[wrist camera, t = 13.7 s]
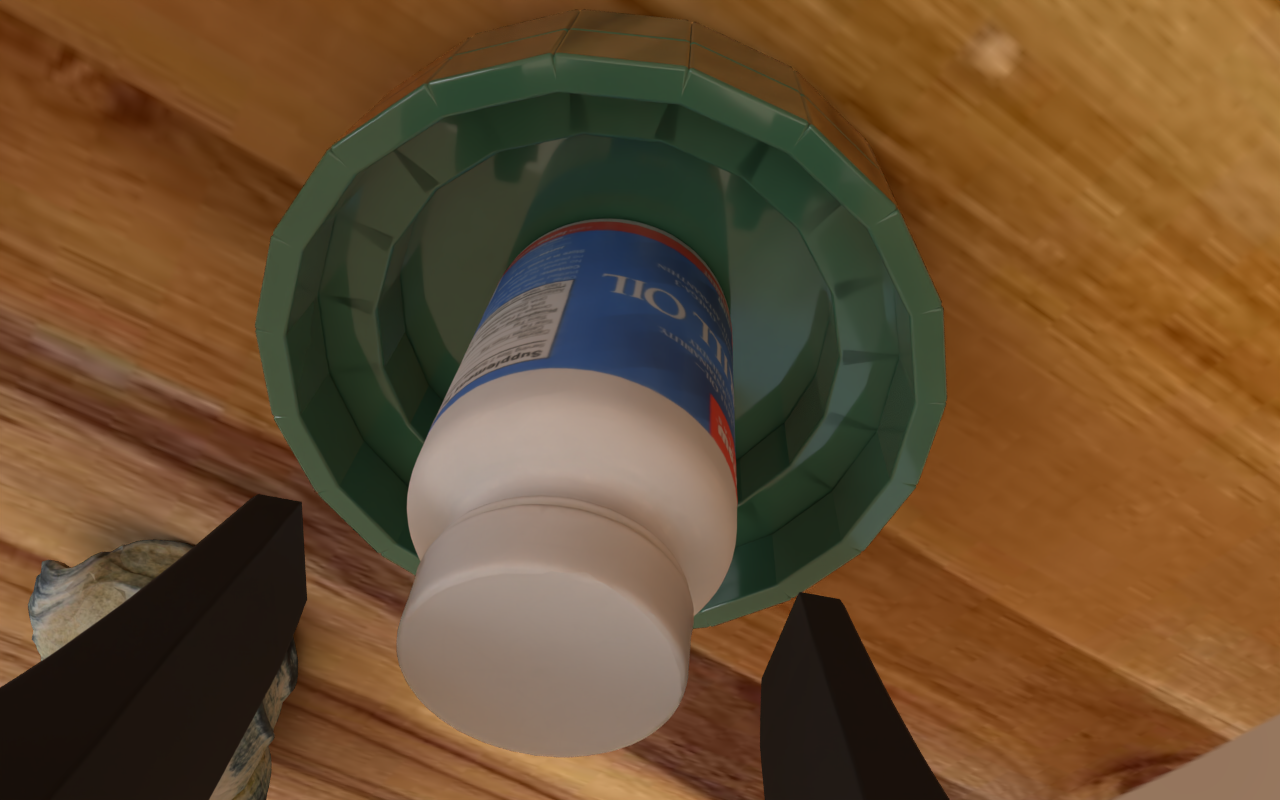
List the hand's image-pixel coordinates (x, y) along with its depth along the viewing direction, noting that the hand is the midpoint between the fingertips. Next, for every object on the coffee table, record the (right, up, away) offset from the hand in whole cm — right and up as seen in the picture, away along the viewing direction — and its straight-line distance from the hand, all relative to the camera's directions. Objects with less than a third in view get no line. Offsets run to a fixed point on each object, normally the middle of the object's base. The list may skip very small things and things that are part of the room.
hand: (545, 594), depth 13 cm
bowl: (+1, +5, +8) cm, 9 cm away
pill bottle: (+1, +5, +7) cm, 9 cm away
